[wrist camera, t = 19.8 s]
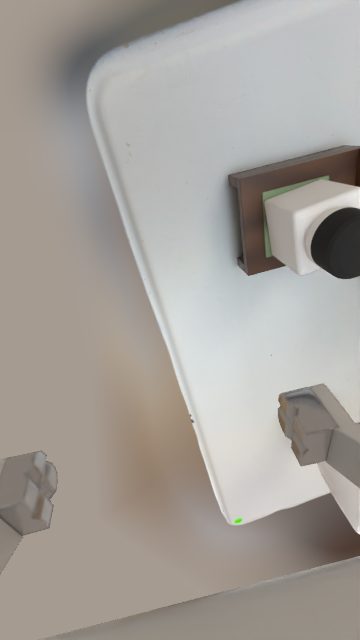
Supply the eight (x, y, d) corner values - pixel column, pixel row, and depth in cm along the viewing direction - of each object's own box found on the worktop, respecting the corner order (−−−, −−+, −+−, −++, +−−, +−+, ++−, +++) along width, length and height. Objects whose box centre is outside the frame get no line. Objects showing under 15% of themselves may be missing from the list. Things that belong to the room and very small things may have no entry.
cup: (290, 399, 60) (363, 511, 42) (337, 390, 61) (428, 495, 43) (285, 432, 66) (347, 543, 48) (328, 423, 67) (405, 528, 49)
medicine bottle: (271, 255, 38) (326, 298, 28) (262, 200, 34) (322, 226, 24) (323, 236, 38) (398, 271, 28) (321, 177, 34) (406, 194, 24)
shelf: (228, 175, 36) (246, 181, 31) (344, 145, 37) (380, 146, 32) (237, 265, 43) (253, 282, 38) (336, 238, 43) (365, 252, 38)
